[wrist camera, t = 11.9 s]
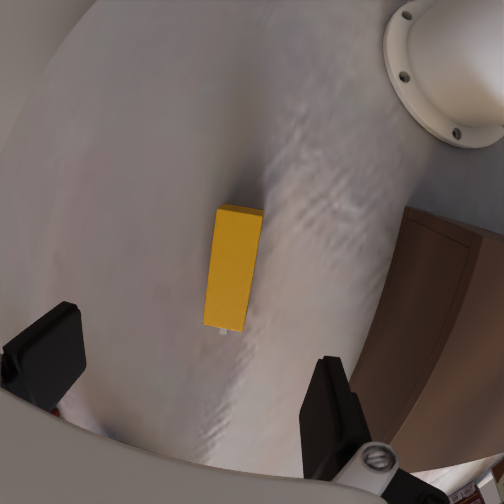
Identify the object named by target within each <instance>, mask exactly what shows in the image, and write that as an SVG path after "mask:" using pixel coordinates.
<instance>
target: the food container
mask: <svg viewBox="0 0 504 504" xmlns="http://www.w3.org/2000/svg"><path fill="white" fill-rule="evenodd" d="M490 470H491V472H492V475H493V478H494V481H495V484H496V487H497V490H498V494H499V497H500V500H501V504H504V457H503V458H502V459H501V460H500V461H498V462H497V463H496V464H495V465H493V466H492V467H491V468H490Z"/></svg>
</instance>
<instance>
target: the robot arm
mask: <svg viewBox="0 0 504 504" xmlns="http://www.w3.org/2000/svg"><path fill="white" fill-rule="evenodd" d="M383 54H384V62H385V66H386V69H387V72H388V76H389V79H390V81H391V83H392V85H393V87H394V89H395V92H396V94H397V95H398V97H399V98H400V100H401V101H402V103H403V105H404V106H405V108H406V109H407V110H408V111H409V112H410V114H411V115H412V116H413V117H414V119H415V120H416V121H417V122H418V123H419V124H420V125H422V126H423V127H424V128H425V129H426V130H427V131H428V132H429V133H431V134H432V135H434V136H435V137H437V138H438V139H440V140H441V141H444V142H446V143H448V144H450V145H452V146H456V147H460V148H465V149H466V148H469V149H477V148H484V147H488V146H490V145H492V144H495V143H496V142H497V141H499V140H500V139H501V138H502V137H503V136H504V0H414V1H411V2H408V3H406V4H405V5H403V6H401V7H400V8H399V9H398V10H397V11H396V12H395V13H394V14H393V16H392V17H391V19H390V20H389V22H388V23H387V26H386V29H385V32H384V36H383ZM399 77H401V78H402V80H403V81H401V79H400V78H399ZM2 348H3V351H4V353H3V354H2V355H1V354H0V504H450V500H449V498H448V496H447V495H446V494H445V493H444V492H443V491H441V490H439V489H438V488H436V487H434V486H432V485H430V484H428V483H426V482H424V481H422V480H420V479H419V478H417V477H415V476H413V475H411V474H409V473H408V472H406V471H404V470H402V469H401V468H399V465H400V456H399V454H398V452H397V451H396V450H395V449H394V448H393V447H392V446H390V445H389V444H386V443H384V442H379V441H372V438H371V435H370V432H369V429H368V425H367V422H366V419H365V416H364V413H363V410H362V407H361V404H360V401H359V398H358V395H357V393H355V392H351V390H350V387H349V383H348V380H347V377H346V374H345V371H344V368H343V365H342V362H341V359H340V357H332V356H324V357H323V359H318V361H317V364H316V367H315V370H314V373H313V376H312V379H311V381H310V384H309V387H308V390H307V393H306V396H305V398H304V401H303V404H302V407H301V409H300V414H299V423H300V435H301V448H302V461H303V474H304V479H302V478H293V477H282V476H272V475H263V474H255V473H248V472H241V471H235V470H228V469H222V468H217V467H211V466H206V465H201V464H197V463H192V462H188V461H183V460H179V459H175V458H171V457H167V456H164V455H160V454H156V453H153V452H149V451H146V450H143V449H139V448H136V447H133V446H130V445H127V444H124V443H121V442H118V441H115V440H112V439H110V438H107V437H104V436H101V435H99V434H96V433H94V432H91V431H89V430H86V429H84V428H81V427H79V426H77V425H74V424H72V423H70V422H67V421H65V420H63V419H61V418H59V417H57V416H54V415H52V414H50V412H51V411H52V410H53V408H54V407H55V406H56V405H57V403H58V402H59V401H60V400H61V399H62V397H63V396H64V395H65V394H66V392H67V391H68V390H69V389H70V387H71V386H72V385H73V384H74V383H75V381H76V380H77V379H78V378H79V377H80V375H81V374H82V373H83V372H84V370H85V368H86V356H85V349H84V341H83V332H82V322H81V312H80V310H79V309H78V307H77V305H76V304H72V303H69V302H66V301H63V302H61V303H60V304H59V305H57V306H56V307H54V308H53V309H52V310H50V311H49V312H48V313H46V314H45V315H44V316H42V317H41V318H40V319H38V320H37V321H36V322H34V323H33V324H32V325H30V326H29V327H28V328H26V329H25V330H24V331H22V332H21V333H20V334H19V335H17V336H16V337H15V338H13V339H12V340H11V341H10V342H8V343H7V344H6V345H5V346H3V347H2Z"/></svg>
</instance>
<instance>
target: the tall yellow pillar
mask: <svg viewBox="0 0 504 504" xmlns="http://www.w3.org/2000/svg"><path fill="white" fill-rule="evenodd" d="M263 216H264V210H259V209H254V208H248V207H242V206H236V205H230V204H223V205H222V206H220V207H219V208H218V209H217V213H216V220H215V227H214V235H213V242H212V250H211V258H210V266H209V274H208V282H207V291H206V299H205V308H204V318H203V324H204V325H208V326H213V327H219V333H220V334H224V335H227V333H228V329H229V330H234V331H240V332H243V329H244V324H245V319H246V313H247V308H248V302H249V296H250V291H251V285H252V279H253V274H254V268H255V262H256V256H257V251H258V245H259V239H260V233H261V227H262V222H263Z"/></svg>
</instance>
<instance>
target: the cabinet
mask: <svg viewBox="0 0 504 504" xmlns="http://www.w3.org/2000/svg"><path fill="white" fill-rule="evenodd" d="M349 387H350V390H351V392H355V393H357V395H358V398H359V401H360V404H361V407H362V410H363V413H364V416H365V419H366V422H367V425H368V429H369V432H370V435H371V438H372V441H379V442H384V443H386V444H389V445H390V446H392V447H393V448H394V449H395V450H396V451H397V452H398V454H399V456H400V465H399V468H401V469H402V470H404V471H406V472H408V473H414V472H421V471H428V470H433V469H439V468H444V467H449V466H454V465H459V464H463V463H467V462H471V461H475V460H479V459H483V458H486V457H490V456H493V455H496V454H500V453H503V452H504V236H503V235H501V234H498V233H495V232H492V231H489V230H486V229H483V228H480V227H476V226H473V225H470V224H467V223H464V222H460V221H457V220H454V219H451V218H447V217H444V216H440V215H437V214H433V213H430V212H426V211H423V210H419V209H415V208H412V207H408V206H405V209H404V214H403V218H402V222H401V227H400V231H399V235H398V239H397V243H396V247H395V251H394V254H393V258H392V262H391V265H390V269H389V272H388V276H387V279H386V282H385V286H384V289H383V292H382V295H381V298H380V302H379V305H378V308H377V311H376V314H375V317H374V320H373V322H372V325H371V328H370V331H369V334H368V336H367V339H366V342H365V345H364V347H363V350H362V352H361V355H360V358H359V360H358V363H357V365H356V368H355V370H354V372H353V375H352V377H351V380H350V382H349Z"/></svg>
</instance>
